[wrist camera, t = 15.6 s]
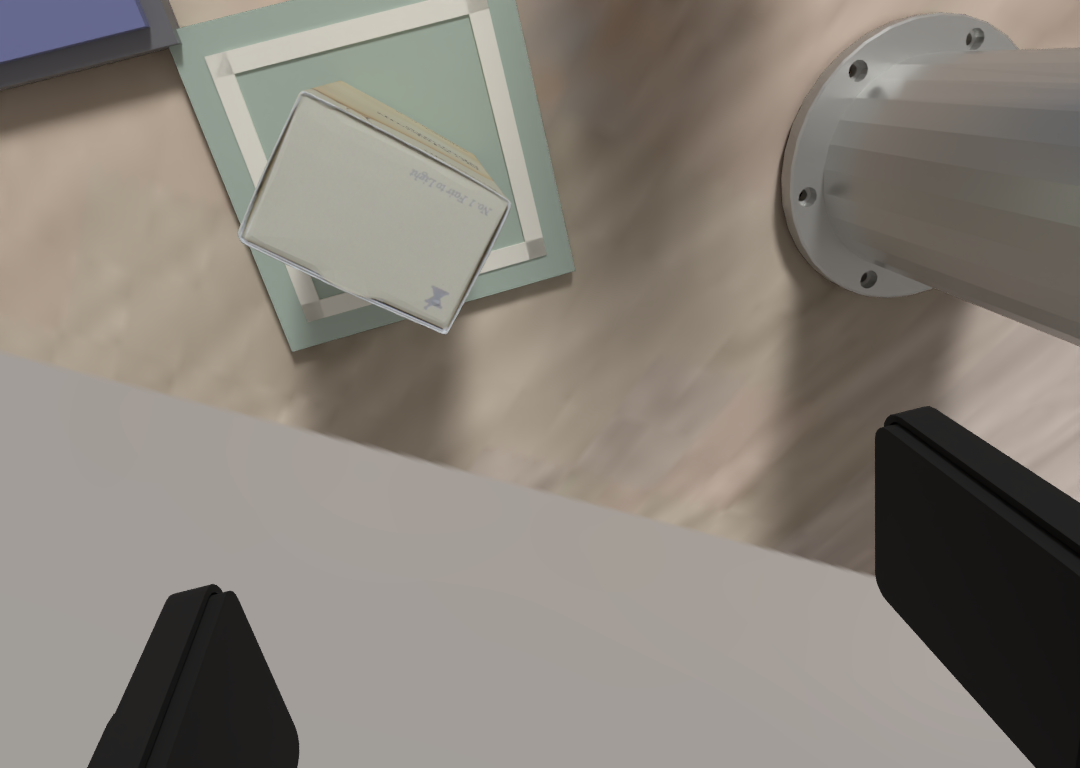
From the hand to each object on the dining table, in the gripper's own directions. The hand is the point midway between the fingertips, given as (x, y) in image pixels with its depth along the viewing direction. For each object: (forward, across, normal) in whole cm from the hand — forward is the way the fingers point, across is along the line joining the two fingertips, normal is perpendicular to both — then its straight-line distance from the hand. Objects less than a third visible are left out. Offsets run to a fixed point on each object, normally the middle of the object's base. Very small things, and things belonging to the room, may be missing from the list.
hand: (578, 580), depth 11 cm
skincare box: (+24, +3, -4) cm, 24 cm away
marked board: (+24, +2, -4) cm, 25 cm away
